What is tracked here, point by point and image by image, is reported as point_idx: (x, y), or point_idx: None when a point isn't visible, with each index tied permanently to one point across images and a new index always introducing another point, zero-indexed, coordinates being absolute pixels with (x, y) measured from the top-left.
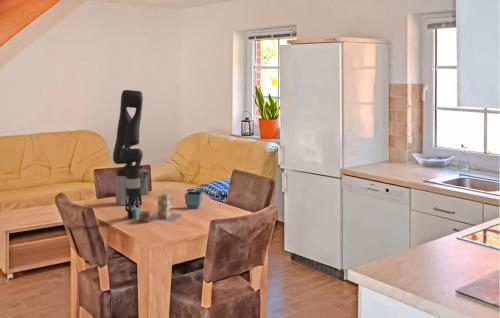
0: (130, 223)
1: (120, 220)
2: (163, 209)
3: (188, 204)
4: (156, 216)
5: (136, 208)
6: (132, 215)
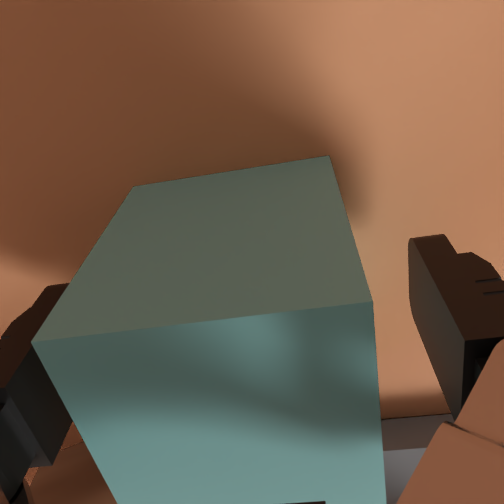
0: None
1: (35, 49)
2: None
3: None
4: None
5: (271, 483)
6: None
